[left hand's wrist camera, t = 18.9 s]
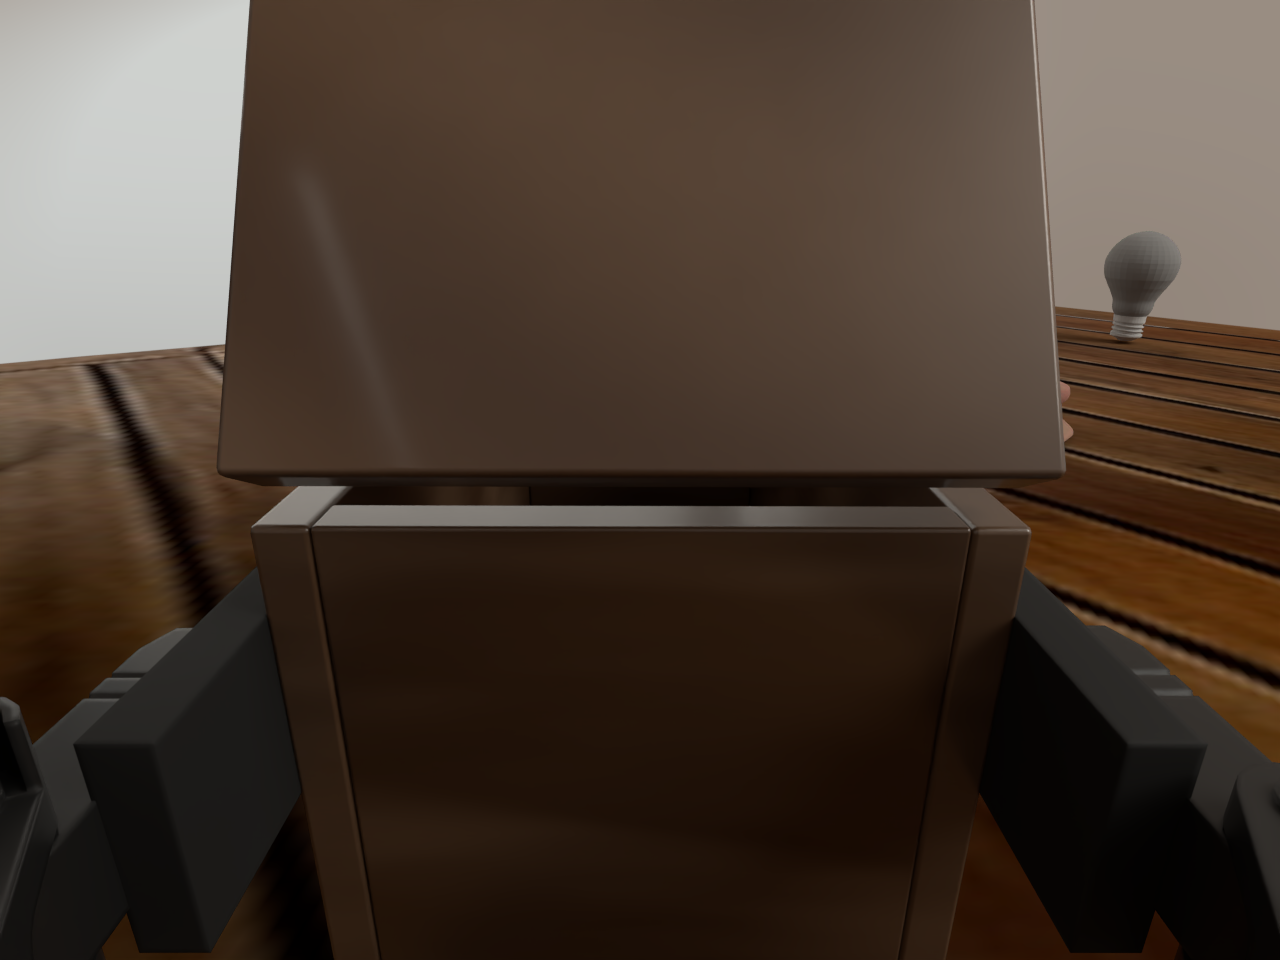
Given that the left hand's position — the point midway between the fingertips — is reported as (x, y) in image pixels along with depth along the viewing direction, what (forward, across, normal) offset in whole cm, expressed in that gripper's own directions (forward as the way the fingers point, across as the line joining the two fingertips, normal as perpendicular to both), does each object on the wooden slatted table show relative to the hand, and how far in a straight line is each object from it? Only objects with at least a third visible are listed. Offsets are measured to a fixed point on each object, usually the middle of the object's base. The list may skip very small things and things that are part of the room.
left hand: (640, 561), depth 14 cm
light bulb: (+61, +47, -7) cm, 78 cm away
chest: (+4, 0, -7) cm, 8 cm away
